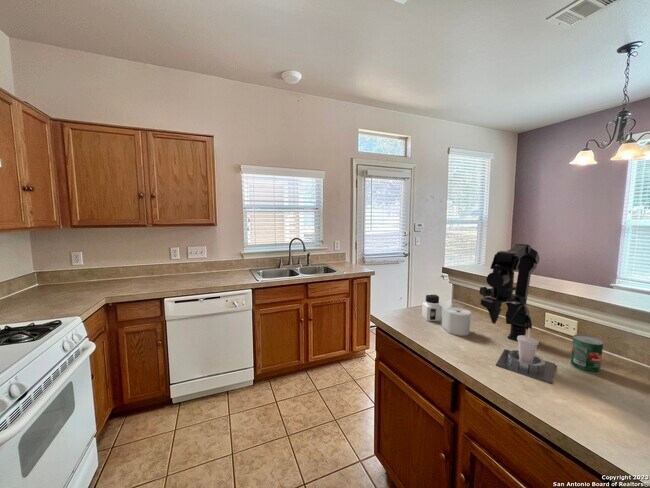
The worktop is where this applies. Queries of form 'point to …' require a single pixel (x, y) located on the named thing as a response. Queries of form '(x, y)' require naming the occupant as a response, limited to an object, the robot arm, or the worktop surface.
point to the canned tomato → (586, 354)
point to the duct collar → (527, 366)
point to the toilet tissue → (456, 321)
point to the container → (432, 308)
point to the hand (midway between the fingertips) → (501, 321)
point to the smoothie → (527, 347)
